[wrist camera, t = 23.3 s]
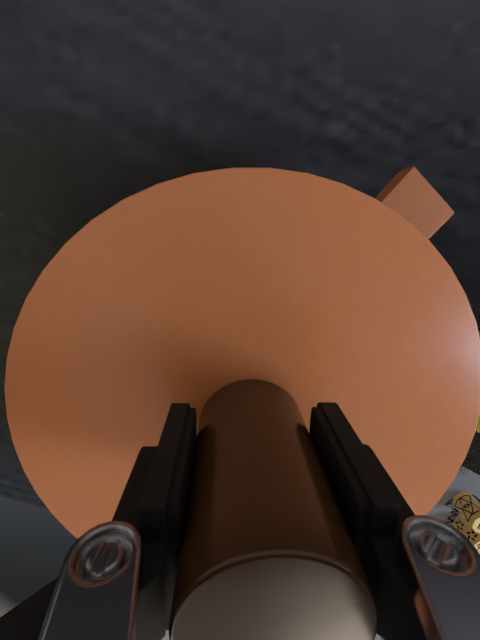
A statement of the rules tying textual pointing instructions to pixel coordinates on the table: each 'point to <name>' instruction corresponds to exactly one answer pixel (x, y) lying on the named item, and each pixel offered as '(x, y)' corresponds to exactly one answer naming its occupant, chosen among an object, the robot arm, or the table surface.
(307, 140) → the table surface
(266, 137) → the table surface
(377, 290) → the pan lid
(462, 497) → the dice set
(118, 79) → the table surface
